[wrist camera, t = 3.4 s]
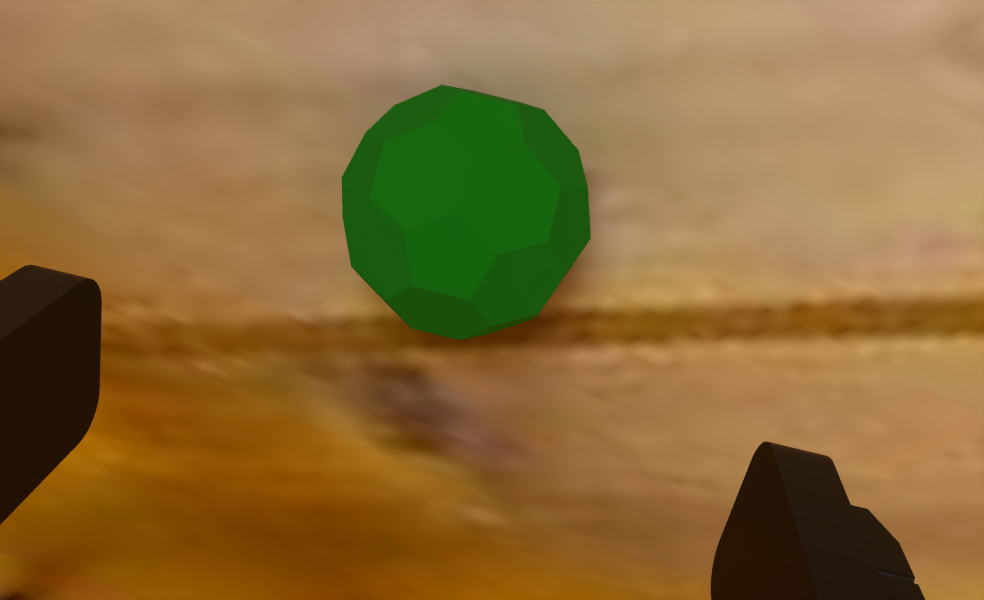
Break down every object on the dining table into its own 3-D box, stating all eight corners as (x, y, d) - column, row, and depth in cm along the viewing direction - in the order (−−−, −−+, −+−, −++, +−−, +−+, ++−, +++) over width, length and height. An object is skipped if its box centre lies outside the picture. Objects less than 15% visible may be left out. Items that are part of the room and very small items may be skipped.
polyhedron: (596, 276, 21) (595, 376, 17) (389, 286, 22) (337, 385, 17) (584, 56, 19) (579, 105, 15) (356, 75, 20) (288, 127, 15)
